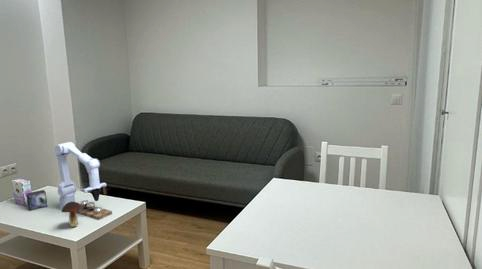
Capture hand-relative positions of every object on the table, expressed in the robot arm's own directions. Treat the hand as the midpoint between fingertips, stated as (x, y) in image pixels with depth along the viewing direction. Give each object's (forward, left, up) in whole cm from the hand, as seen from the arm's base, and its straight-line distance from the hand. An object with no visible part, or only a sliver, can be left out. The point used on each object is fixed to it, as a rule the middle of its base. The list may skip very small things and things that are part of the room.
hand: (96, 200), depth 216 cm
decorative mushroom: (+3, -18, -10) cm, 20 cm away
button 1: (-13, 0, -7) cm, 14 cm away
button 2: (0, 0, -9) cm, 9 cm away
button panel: (-6, 0, -9) cm, 11 cm away
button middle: (-6, 0, -7) cm, 9 cm away
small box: (-48, -11, -10) cm, 50 cm away
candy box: (-65, -11, -10) cm, 66 cm away
